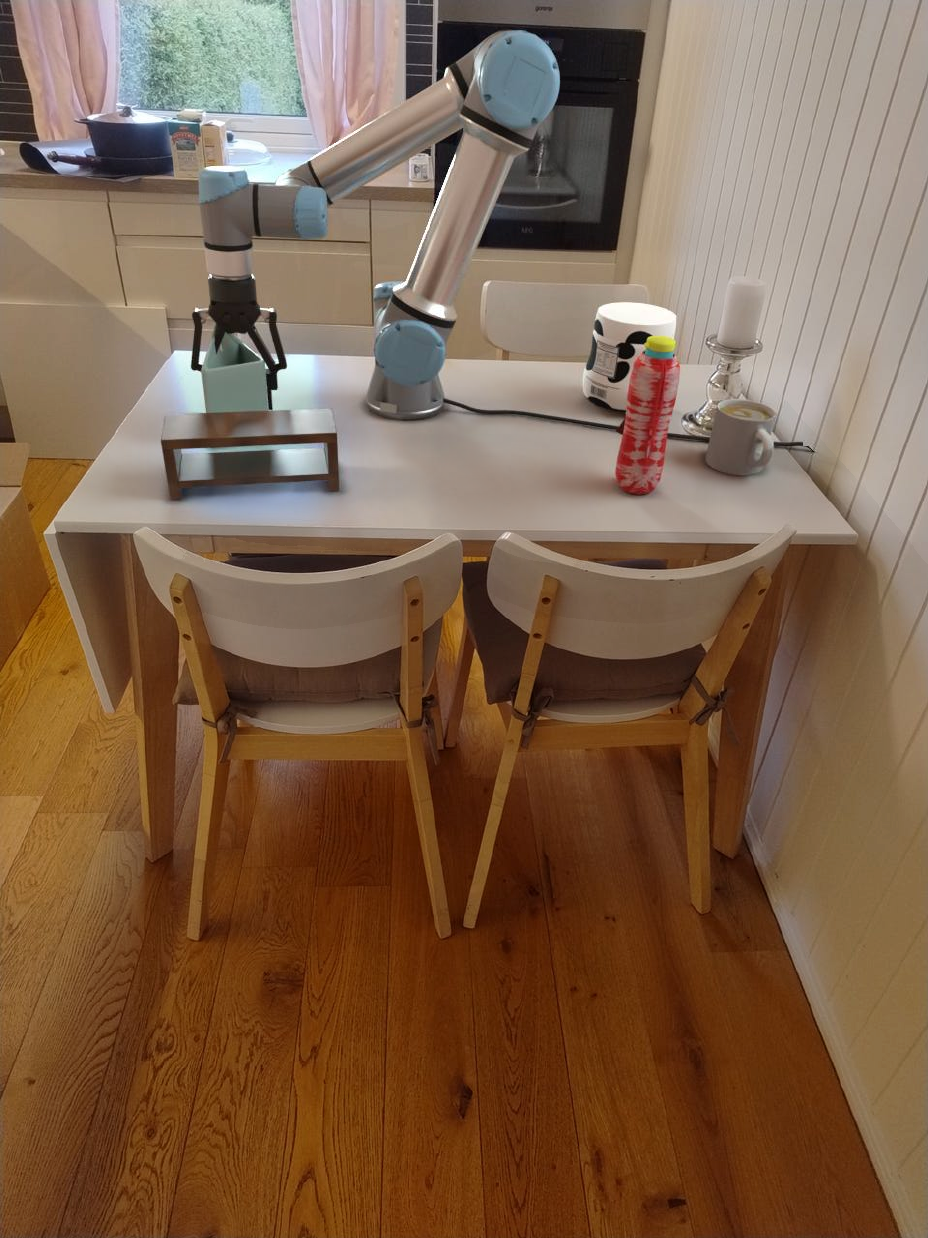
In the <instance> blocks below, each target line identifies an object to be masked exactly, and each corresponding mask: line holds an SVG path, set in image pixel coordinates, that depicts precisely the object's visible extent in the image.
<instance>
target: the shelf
mask: <svg viewBox="0 0 928 1238" xmlns="http://www.w3.org/2000/svg"><path fill="white" fill-rule="evenodd" d="M307 444H308V445H309V444H323V447H309V448H285V449H283V448H282V449H265V450H261V449H260V450H241V451H240V450H239V451H238V450H237V451H220V452H219V451H217V452H216V451H215V452H194V453H193V452H192V453H183V452H182V450H191V449H192V450H194V449H216V448H217V449H219V448H237V447H239V448H240V447H259V446H260V447H261V446H284V445H287V446H288V445H307ZM160 446H161V451H162V457H163V458H162V459H163V463H164V469H165V475H166V476H165V477H166V483H167V486H168V487H167V488H168V493H169V498H170V501H181V500H182V497H183V489H188V488H190V489H191V488H208V487H209V488H210V487H225V486H226V487H227V486H228V487H229V486H245V485H247V486H249V485H267V484H286V483H289V484H290V483H306V482H307V483H308V482H324V481H325V482H326V481H327V486H328V490H329V492H330V493H332V492H333V493H334V492H340V490H341V489H340V468H339V446H338V431H337V425H336V422H335V416H334V412H333V408H306V409H305V408H303V409H279V410H275V409H273V410H268V411H246V412H218V413H206V412H196V413H195V412H194V413H193V412H192V413H191V412H190V413H166V414H164V420H163V426H162V431H161V436H160Z"/></svg>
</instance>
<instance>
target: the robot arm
mask: <svg viewBox="0 0 928 1238" xmlns="http://www.w3.org/2000/svg"><path fill="white" fill-rule="evenodd" d="M560 79H561V76H560V70H559V64H558V62H557V59H556V56H555V55H554V53H553V52H552V49H551V48H550V46H549V45H547V43H546V42H545V41H544V40H543V39H542V38H540V37H539V36H538V35H536V34H535V33H531V32H529V31H527V30H522V29H503V30H499V31H496V32H494V33H492V34H491V35H489V36H488V37H486V38H485V39H484V40H482V41H481V42H480V43H479V44H478V45H476V47H474V48H473V49H472V50H470V51H469V52H468V53H467V54H465V55H464V56H463V57H461V58H460V59H458V60H457V61H455V62H453V63H452V64H450V65H448V66H447V67H446V68H445V72H444V75H443V77H442V78H441V79H439V80H438V81H436V82H435V83H433V84H431V85H430V86H428V87H427V88H425V89H423V90H421V91H420V92H418V93H416V94H415V95H413V96H412V97H410V98H408V99H406V100H405V101H403V102H402V103H400V104H399V105H397V106H395V107H393V108H391V109H390V110H388V111H387V112H385V113H384V114H382V115H379V116H378V117H377V118H375V119H373V120H372V121H370V122H368V123H366V124H365V125H364V126H362V127H360V128H359V129H357V130H355V131H354V132H352V133H351V134H349V135H347V136H346V137H344V138H342V139H341V140H339V141H337V142H336V143H334V144H332V145H331V146H329V147H328V148H326V149H324V150H322V151H321V152H319V153H317V154H316V155H314V156H312V157H311V158H310V159H308V160H306V161H304V162H303V163H301V164H299V165H298V166H296V167H294V168H289V169H287V170H286V171H283V173H281V174H280V175H279V176H278V178H277V179H276V180H275V182H274V184H259V183H254V182H253V183H252V182H250V180H249V178H248V173H247V171H246V170H245V169H244V168H241V167H236V166H227V165H214V166H207V167H204V168H202V169H200V171H199V173H198V174H197V181H198V194H199V195H198V204H199V210H200V220H201V226H202V227H201V228H202V235H203V245H204V246H203V249H204V257H205V265H206V272H207V273H208V274H209V275H208V277H207V283H208V284H207V285H208V294H209V305H208V307H207V308H206V307H205V308H200V309H199V308H198V307H194V308H192V311H191V317H192V321H193V326H194V331H193V340H192V349H191V360H190V369H191V370H192V371H194V372H195V371H197V372H200V373H201V370H202V366H203V363H204V361H200V354H201V347H202V346H201V344H202V337H203V336H202V335H203V327H204V326H203V325H204V324H205V323H206V322H207V318H208V317H210V318H211V319H212V321H213V322H214V323H216V324H217V325H218V326H219V328H218V330H217V332H216V335H215V342H214V343H215V350H216V354H217V352H218V349H219V347H220V348H221V341H222V339H223V337H224V335H225V332H226V333H227V334H241V335H246V334H247V335H248V337H249V338H250V339H251V341H252V343H253V344H254V346H255V348H256V349H257V352H258V354H259V356H260V357H261V358H262V359H263V360H264V361H265V366H266V367H267V368H265V371H266V386H267V401H268V411H274V408H273V396H272V394H273V393H272V391H277V390H278V389H279V385H278V372H279V371H282V370H286V369H287V368H288V362H287V358H286V354H285V350H284V347H283V343H282V339H281V336H280V332H279V329H278V324H277V319H278V314H277V309H276V308H275V307H271V308H269V309H268V308H263V307H261V306H260V304H259V303H258V297H257V283H256V277H255V275H254V273H255V257H254V244H253V237H257V238H280V239H294V240H298V239H299V240H303V241H308V240H321V239H324V238H325V237H327V235H328V224H329V223H328V217H329V216H328V208H329V207H330V206H332V205H334V204H335V203H337V202H338V201H340V200H341V199H343V198H345V197H347V196H349V195H350V194H352V193H353V192H355V191H357V190H359V189H361V188H362V187H364V186H365V185H367V184H369V183H371V182H372V181H374V180H376V179H378V178H380V177H381V176H383V175H384V174H386V173H388V172H389V171H391V170H393V169H395V168H396V167H398V166H400V165H401V164H403V163H405V162H406V161H408V160H409V159H412V158H413V157H415V156H417V155H419V154H420V153H422V152H423V151H425V150H427V149H429V148H430V147H432V146H434V145H435V144H438V143H439V142H440V141H443V140H445V139H446V138H448V137H450V136H451V135H452V134H455V133H457V132H458V131H460V130H462V129H463V130H462V131H463V132H462V135H461V138H460V140H459V143H458V145H457V147H456V150H455V154H454V156H453V159H452V161H451V164H450V167H449V169H448V171H447V173H446V177H445V179H444V182H443V185H442V187H441V190H440V192H439V195H438V198H437V200H436V203H435V206H434V208H433V211H432V213H431V216H430V218H429V221H428V224H427V227H426V229H425V232H424V234H423V237H422V240H421V241H420V244H419V247H418V250H417V253H416V255H415V258H414V261H413V262H412V265H411V267H410V270H409V273H408V275H407V278H406V281H403V280H402V281H384V282H380V283H378V284H376V286H375V287H374V289H373V290H374V293H373V298H372V302H373V305H374V306H373V308H374V310H373V311H374V312H373V313H374V315H373V316H374V317H373V318H374V345H373V346H374V347H373V352H374V367H373V371H372V375H371V378H370V381H369V384H368V388H367V391H366V396H365V403H366V404H365V405H366V408H367V409H368V411H369V412H371V413H373V414H375V415H377V416H380V417H382V418H387V419H393V420H398V421H399V420H401V421H414V420H415V421H416V420H424V419H428V418H432V417H435V416H437V415H438V414H441V413H442V411H443V410H444V409H445V404H448V405H451V406H454V407H458V408H461V409H464V410H466V411H469V412H472V413H475V414H482V415H516V416H524V417H530V418H531V417H532V418H536V419H537V418H538V419H543V420H551V421H556V422H557V421H558V422H562V423H563V422H564V423H570V424H577V425H581V426H589V427H595V428H601V429H607V430H615V431H616V430H617V429H618V427H619V426H620V425H613V424H607V423H599V422H593V421H587V420H581V419H575V418H568V417H563V416H557V415H550V414H542V413H537V412H530V411H524V410H514V409H513V410H512V409H493V410H492V409H481V408H475V407H472V406H469V405H466V404H464V403H461V402H458V401H455V400H451V399H448V398H446V397H445V393H444V390H443V386H442V383H441V378H440V376H439V373H440V372H441V370H442V368H443V366H444V363H445V361H446V356H447V353H446V352H447V348H446V346H447V343H448V341H449V338H450V336H451V334H452V332H453V329H454V327H455V324H456V322H457V319H458V314H457V311H456V308H455V306H454V303H455V300H456V298H457V296H458V294H459V291H460V289H461V286H462V284H463V282H464V279H465V277H466V274H467V273H468V270H469V267H470V266H471V262H472V260H473V258H474V256H475V253H476V251H477V248H478V246H479V244H480V242H481V239H482V237H483V234H484V232H485V229H486V227H487V224H488V222H489V219H490V217H491V215H492V212H493V210H494V208H495V205H496V203H497V200H498V198H499V195H500V194H501V191H502V188H503V186H504V183H505V181H506V180H507V176H508V174H509V172H510V169H511V168H512V165H513V162H514V160H515V158H516V157H518V156H520V155H522V154H524V153H526V152H529V150H530V148H531V145H532V143H533V141H534V139H535V136H536V133H537V131H538V129H539V127H540V125H541V123H542V122H543V121H544V120H545V119H546V118H547V117H548V116H549V114H550V113H551V111H552V110H553V108H554V106H555V104H556V102H557V100H558V97H559V96H558V95H559V92H560V86H561V85H560V84H561V80H560ZM260 317H262V318H263V320H264V322H265V323H266V324H268V328H269V332H270V333H269V334H270V337H271V339H272V343H273V346H274V350H275V354H276V357H277V360H276V361H275V360H274V358H273V356H272V355H271V352H270V351H269V349H268V347H267V345H266V344H265V342H264V340H263V339H262V336H261V335H260V333H259V331H258V328H257V327H256V326H255V324H256V323H257V321H258V320H259V318H260ZM667 438H671V439H672V438H673V439H682V440H691V441H702V442H709V440H710V436H701V435H691V434H682V433H681V434H680V433H674V432H673V433H672V432H668V433H667ZM803 442H804V441H790V442H788V441H785V442H783V441H773V443H774V447H785V448H786V447H789V448H790V447H805V448H807V449H809V450H810V451H811V452H812V453H815V452H814V451H813V450H812V449H811V448H810V447H809V446H803Z"/></svg>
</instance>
